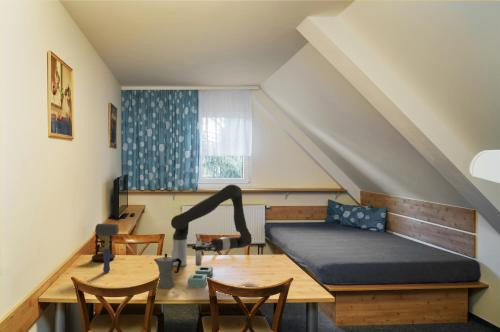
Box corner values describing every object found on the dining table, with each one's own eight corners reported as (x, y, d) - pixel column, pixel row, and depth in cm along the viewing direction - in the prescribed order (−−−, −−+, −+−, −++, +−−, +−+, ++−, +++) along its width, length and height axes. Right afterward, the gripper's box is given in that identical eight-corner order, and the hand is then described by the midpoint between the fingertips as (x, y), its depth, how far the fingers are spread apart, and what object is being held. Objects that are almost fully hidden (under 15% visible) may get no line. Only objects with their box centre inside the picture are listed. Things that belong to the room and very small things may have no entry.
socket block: (195, 277, 215) (195, 270, 215) (198, 272, 224) (198, 266, 224) (210, 278, 214) (210, 271, 214) (212, 273, 223) (212, 266, 223)
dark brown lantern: (117, 256, 255) (118, 228, 254) (111, 262, 240) (111, 233, 239) (96, 256, 254) (96, 228, 253) (88, 262, 239) (88, 232, 239)
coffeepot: (151, 288, 195) (151, 255, 195) (155, 282, 205) (156, 251, 204) (179, 289, 195) (180, 256, 195) (182, 283, 205) (183, 251, 204)
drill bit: (195, 265, 202) (195, 235, 202) (196, 264, 206) (196, 234, 205) (200, 266, 202) (200, 235, 202) (201, 264, 206) (201, 234, 205)
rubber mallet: (118, 270, 225) (119, 222, 224) (115, 274, 218) (115, 224, 217) (98, 270, 224) (99, 222, 224) (93, 274, 217) (94, 224, 216)
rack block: (187, 286, 200) (187, 279, 200) (191, 280, 209) (191, 274, 209) (204, 287, 199) (204, 280, 199) (207, 281, 209) (207, 274, 208)
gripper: (214, 235, 217) (188, 239, 208) (226, 240, 206) (199, 244, 196) (214, 248, 218) (188, 252, 208) (226, 253, 206) (199, 257, 196)
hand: (193, 248), depth 202 cm, fingers closed on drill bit, 3 cm apart
